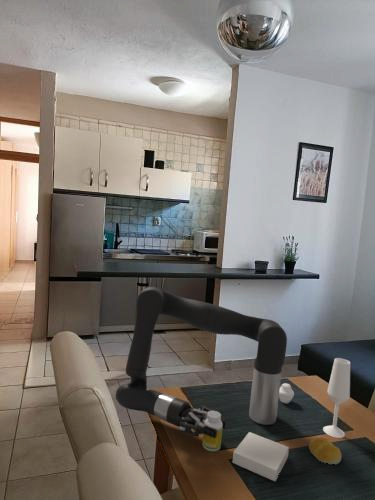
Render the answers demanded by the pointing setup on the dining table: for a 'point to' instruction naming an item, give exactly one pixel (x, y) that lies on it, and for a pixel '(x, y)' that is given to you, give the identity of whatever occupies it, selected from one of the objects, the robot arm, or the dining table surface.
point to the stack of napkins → (261, 456)
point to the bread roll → (325, 451)
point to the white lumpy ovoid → (285, 393)
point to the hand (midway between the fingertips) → (221, 429)
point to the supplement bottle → (216, 423)
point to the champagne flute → (338, 392)
